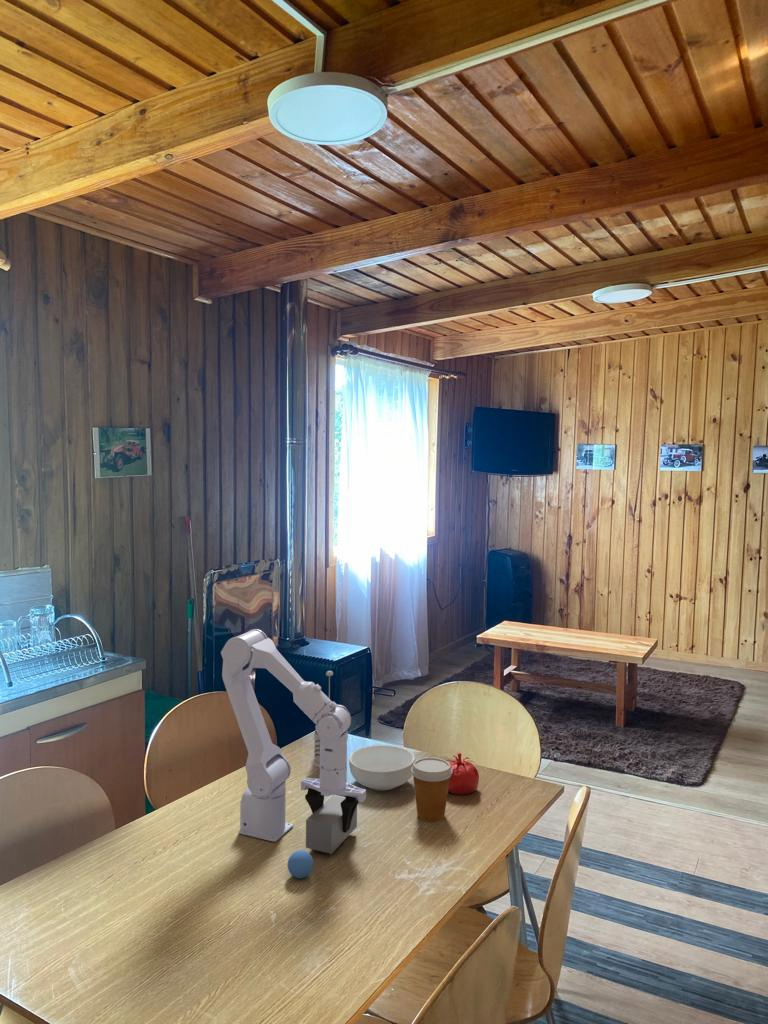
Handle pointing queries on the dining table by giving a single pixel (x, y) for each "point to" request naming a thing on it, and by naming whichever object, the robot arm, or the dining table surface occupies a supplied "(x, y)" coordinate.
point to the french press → (316, 758)
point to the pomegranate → (463, 776)
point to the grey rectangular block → (328, 826)
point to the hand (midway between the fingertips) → (332, 827)
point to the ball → (300, 864)
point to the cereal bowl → (381, 766)
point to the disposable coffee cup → (431, 787)
